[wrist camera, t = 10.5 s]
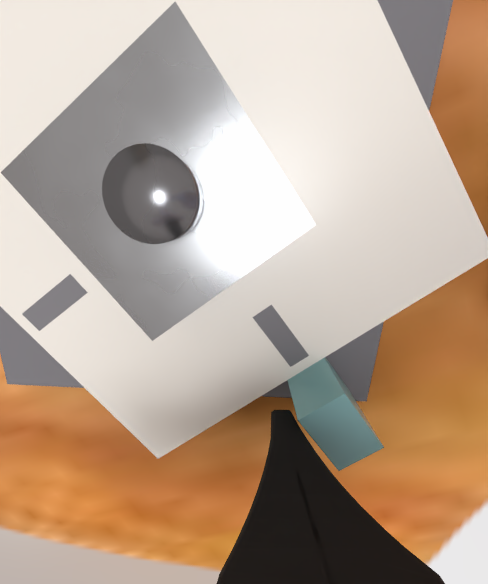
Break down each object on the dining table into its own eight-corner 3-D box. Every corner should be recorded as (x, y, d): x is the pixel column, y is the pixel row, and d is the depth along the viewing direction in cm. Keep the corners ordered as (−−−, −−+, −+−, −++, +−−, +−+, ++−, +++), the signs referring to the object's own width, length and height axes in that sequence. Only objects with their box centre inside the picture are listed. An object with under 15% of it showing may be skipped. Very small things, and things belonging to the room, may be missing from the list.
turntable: (227, -258, 7) (212, -656, 4) (499, 303, 12) (599, 336, 9) (-129, 151, 10) (-311, 118, 7) (197, 476, 15) (184, 551, 12)
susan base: (451, -58, 9) (470, -83, 9) (360, 391, 14) (366, 401, 14) (-78, -92, 9) (-108, -121, 8) (20, 375, 14) (7, 383, 14)
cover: (194, 61, 9) (162, -39, 5) (299, 223, 10) (326, 225, 7) (61, 184, 10) (-37, 165, 6) (172, 314, 11) (140, 356, 8)
